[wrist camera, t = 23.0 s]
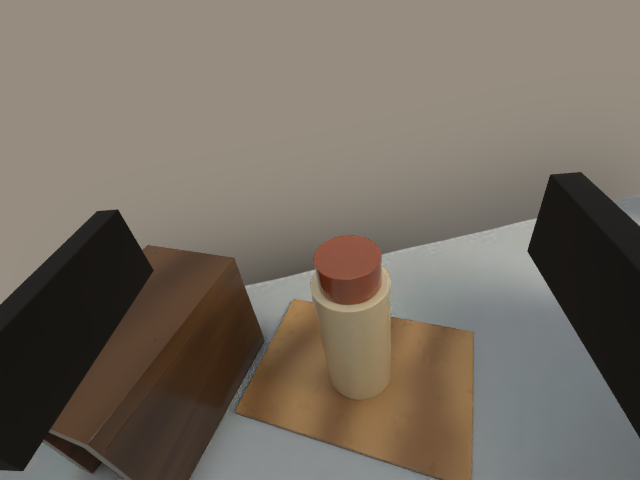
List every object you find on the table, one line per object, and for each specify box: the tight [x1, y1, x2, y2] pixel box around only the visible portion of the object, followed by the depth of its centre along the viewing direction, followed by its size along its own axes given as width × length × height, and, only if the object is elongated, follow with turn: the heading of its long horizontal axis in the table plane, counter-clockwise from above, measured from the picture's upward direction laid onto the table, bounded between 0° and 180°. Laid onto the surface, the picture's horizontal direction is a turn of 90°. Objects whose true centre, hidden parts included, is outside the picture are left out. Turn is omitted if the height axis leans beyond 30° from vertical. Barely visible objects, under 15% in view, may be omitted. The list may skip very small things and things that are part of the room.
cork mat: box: [235, 299, 474, 480], centre depth 33 cm, size 20×14×1 cm
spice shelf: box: [42, 245, 264, 480], centre depth 30 cm, size 10×16×12 cm, turn 161°
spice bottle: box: [310, 235, 391, 400], centre depth 29 cm, size 6×6×14 cm
